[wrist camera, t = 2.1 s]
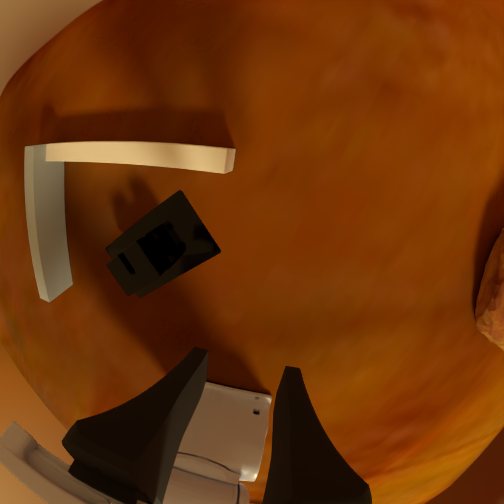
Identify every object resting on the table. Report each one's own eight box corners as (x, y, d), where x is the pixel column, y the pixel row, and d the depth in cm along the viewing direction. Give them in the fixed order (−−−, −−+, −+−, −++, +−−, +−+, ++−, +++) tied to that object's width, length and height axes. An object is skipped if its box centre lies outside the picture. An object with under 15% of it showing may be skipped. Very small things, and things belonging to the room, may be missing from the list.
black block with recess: (193, 168, 19) (167, 175, 15) (246, 251, 21) (234, 278, 17) (95, 247, 23) (64, 266, 19) (138, 309, 25) (115, 337, 20)
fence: (235, 149, 18) (220, 149, 14) (215, 326, 23) (202, 356, 19) (55, 142, 19) (25, 146, 15) (63, 280, 25) (40, 298, 21)
